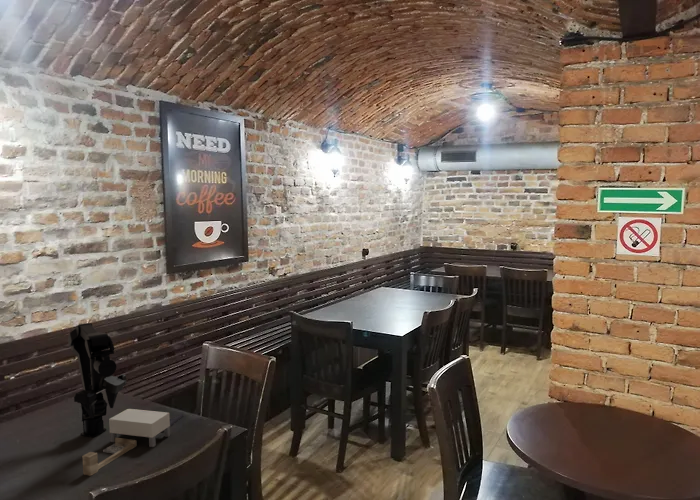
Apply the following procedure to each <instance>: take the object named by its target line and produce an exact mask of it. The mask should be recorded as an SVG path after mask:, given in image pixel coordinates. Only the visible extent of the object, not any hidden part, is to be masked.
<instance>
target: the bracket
mask: <svg viewBox="0 0 700 500" xmlns="http://www.w3.org/2000/svg"><path fill="white" fill-rule="evenodd" d="M183 418H184V414H182V413H180V414H179V415H178V416H176V417H173V419H172V418H170V428H172V427H173V426H174V425H175V424H176V423H177V422H178V420H179V421H180V420H182V419H183ZM174 423H175V424H174ZM162 432H163V433H164V430H163V431H162Z"/></svg>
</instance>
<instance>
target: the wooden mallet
mask: <svg viewBox="0 0 700 500" xmlns="http://www.w3.org/2000/svg"><path fill="white" fill-rule="evenodd" d="M114 443H122V444H128V446H126V447H125V448H123V449H121V450H120V451H118V452H117V453H115V454H112V455H109V456H108V457H107V458H105V459H103V460H102V461H100V462H99V459H98V452H93V451H89V452H87V453H85V454H83V455H82V471H83V472H82V473H83V475H84V476H93V475H94V474H96V473H98V472H99V470H100V469H102V468H103V467H105V466H106V465H108V464H109V463H112V462H113V461H115V460H116V459H118V458H119V457H122V456H123V455H124V454H125V453H127V452H129V451H131V450H133V449H134V448H136V447H137V440H135V439H128V438H122V437H117V438H115V442H114Z"/></svg>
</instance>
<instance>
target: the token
mask: <svg viewBox="0 0 700 500" xmlns="http://www.w3.org/2000/svg"><path fill="white" fill-rule="evenodd" d="M126 446H128V444H122V443H115V442H113V444H111V445H109V446H107V447H106V448H104V449H103V450H102V451H103V452H102V453H108V454H112V455H113V454H115V453H117V452H118V451H120V450H121V449H123V448H125V447H126Z"/></svg>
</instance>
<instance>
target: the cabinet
mask: <svg viewBox="0 0 700 500" xmlns="http://www.w3.org/2000/svg"><path fill="white" fill-rule="evenodd" d="M170 419H171V417H170V412H167V411H165V412H164V411H157V410H156V411H154V410H143V409H136V408H135V409H134V408H127V409H125V410H123V411H122V412H120V413H117V414H115V415H114V416H112V417H110V418H109V419H108V421H109V422H108V424H109V425H108V426H109V440H110V443H115V438H118V436H117V434H118V435H127V436H133V437H134V436H136V437H145V438H148V445H149V448H155V447H156V445H157V443H156V442H157V441H156V436H157V435H158V434H160V433H162V432H163V430H164V432H163V435H164V437H165V438H168V437H170V436H171V427H170Z"/></svg>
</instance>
